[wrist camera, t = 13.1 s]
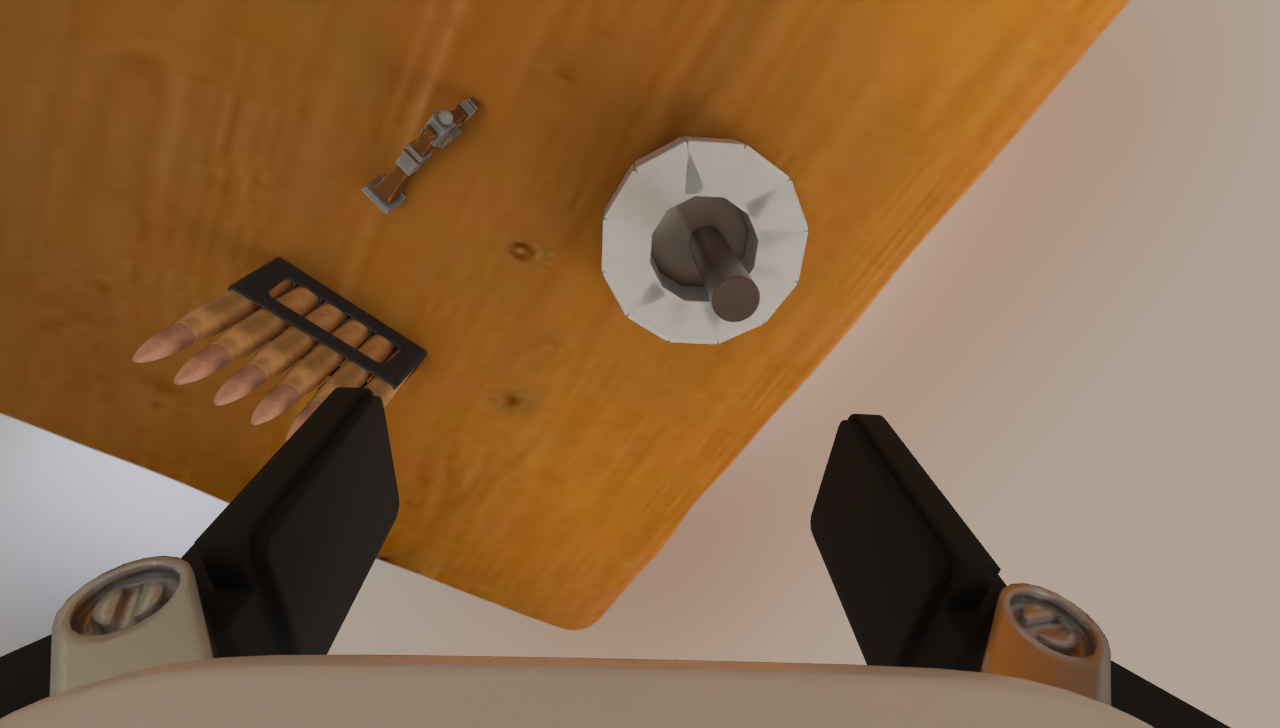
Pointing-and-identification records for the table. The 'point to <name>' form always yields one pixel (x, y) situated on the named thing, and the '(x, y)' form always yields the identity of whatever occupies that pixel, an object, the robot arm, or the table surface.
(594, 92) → the table surface
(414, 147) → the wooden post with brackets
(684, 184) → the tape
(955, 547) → the robot arm
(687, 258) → the stand
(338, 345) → the ammunition clip
